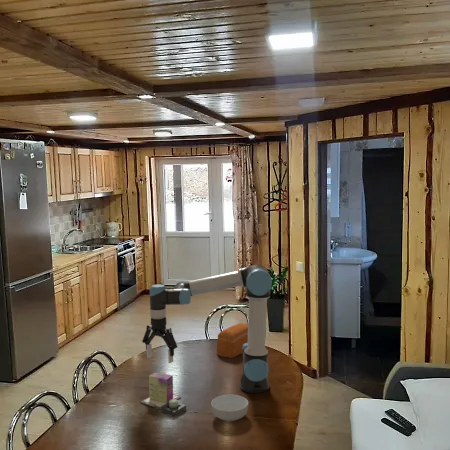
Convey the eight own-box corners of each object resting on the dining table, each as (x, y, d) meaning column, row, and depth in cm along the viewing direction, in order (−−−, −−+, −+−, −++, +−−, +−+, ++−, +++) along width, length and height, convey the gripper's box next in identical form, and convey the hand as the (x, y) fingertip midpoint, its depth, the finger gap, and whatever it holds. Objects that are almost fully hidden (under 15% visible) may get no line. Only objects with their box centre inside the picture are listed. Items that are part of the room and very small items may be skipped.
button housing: (186, 410, 226) (186, 405, 225) (174, 417, 219) (174, 412, 219) (173, 405, 230) (173, 400, 230) (161, 412, 224) (161, 407, 224)
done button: (180, 405, 225) (180, 400, 225) (174, 409, 222) (174, 404, 221) (173, 403, 227) (173, 398, 227) (167, 406, 224) (167, 401, 224)
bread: (214, 354, 297) (214, 329, 296) (238, 342, 318) (238, 319, 317) (232, 359, 289) (232, 333, 287) (256, 346, 310) (256, 322, 308)
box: (173, 398, 236) (172, 375, 235) (167, 403, 231) (166, 379, 230) (156, 394, 241) (155, 371, 240) (149, 399, 236) (148, 375, 235)
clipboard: (181, 397, 239) (181, 395, 238) (159, 410, 226) (159, 407, 226) (162, 391, 246) (161, 389, 246) (140, 403, 234) (140, 400, 234)
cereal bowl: (236, 430, 206) (236, 414, 206) (204, 420, 215) (203, 405, 215) (255, 413, 221) (254, 398, 220) (224, 405, 230) (224, 391, 229)
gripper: (183, 318, 229) (185, 361, 230) (144, 311, 242) (146, 352, 244) (173, 322, 222) (175, 367, 224) (134, 315, 236) (135, 357, 238)
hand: (160, 359), depth 234 cm, fingers open, 13 cm apart
